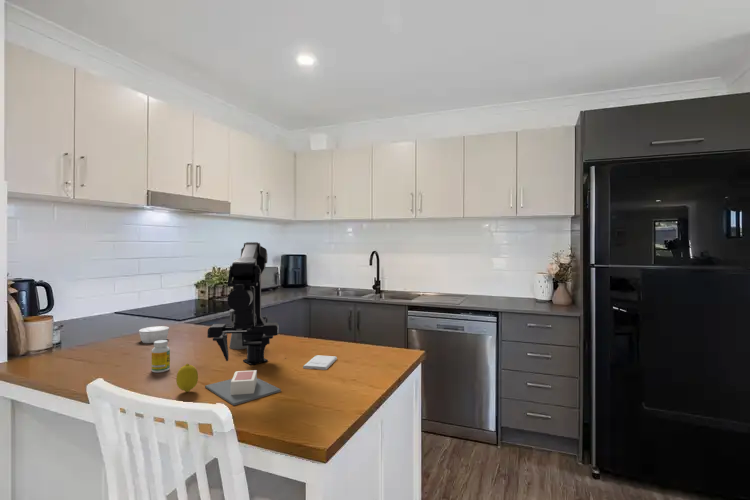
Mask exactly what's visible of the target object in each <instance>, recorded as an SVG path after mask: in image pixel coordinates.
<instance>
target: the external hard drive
mask: <svg viewBox="0 0 750 500" xmlns="http://www.w3.org/2000/svg"><path fill="white" fill-rule="evenodd" d="M337 359H338V358H337V356H335V355H333V356H332V355H318V354H317V355H314V357H312V358H311V359H309V361H308V362H306V363H305V364H304V365H303V366H302V368H303V369H309V370H313V369H314V370H322V371H323V370H324V371H326V370H328V369H329V368H330V367H331V366H332V364H334V362H336V361H337Z"/></svg>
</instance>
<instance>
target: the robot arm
mask: <svg viewBox="0 0 750 500" xmlns="http://www.w3.org/2000/svg"><path fill="white" fill-rule="evenodd" d="M267 264H268V251H267V249H266V248H265V247H263V246H262V245H261V243H260V242H257V241H256V242H254V241H246V242H244V243H243V246H242V248H241V249H240V257H239V258H237V259H234V260H233V262H232V265H229V272H228V277H227V287H233V289H232V291H231V292H230V293H229V294H228V296H227V299H226V300H227V304H228V306H229V308H230V310H231V309H233V310H234V311H232V319H231V318H230V321H231V320H232V322H234V327H232V326H227V324H226V323H213V324H212V325H211V326H209V327H208V329H207V338H208V339H212V341H213V342H216V343H217V345H218V346H219V348H220V350H221V352H222V355H223V357H224V359H225V361H226V362H228V361H229V355H230V354H229V346H228V334H232V333H242V346H247V348H246V358H244V359H243V361H242V362H244V363H246V364H248V365H251V366H253V365H258V364H262V363H266V362H268V361H269V359H267V358H265V350H266V346H267V345H270V343H271V342H270V341H271V339H273V338H274V337H275V336H278V335H279V327H280V326H279V323H278V321H277V322H275V321H274V322H266V321H265V319H264V318H263V316H262V274H263V273H264V271H265V268H266V265H267ZM237 329H241V330H237Z"/></svg>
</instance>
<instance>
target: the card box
mask: <svg viewBox="0 0 750 500" xmlns="http://www.w3.org/2000/svg"><path fill="white" fill-rule="evenodd" d="M257 376H258V370H257V369H254V370H238V371H237V370H236V371H235V372H234V374H233V377H232V378H231V379H232V380H231V395H238V394H252V393H254V390H255V387H256V383H257V378H258V377H257Z"/></svg>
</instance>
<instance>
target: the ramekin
mask: <svg viewBox="0 0 750 500" xmlns="http://www.w3.org/2000/svg"><path fill="white" fill-rule="evenodd" d="M169 331H170V327H169V326H165V325H162V326H161V325H160V326H159V325H158V326H156V325H155V326H149V327H148V326H147V327H143V328H140V329H139V330H138V333H139V337H140V341H141V343H143V344H154V342H155V341H159V340H167V339H168V335H169Z"/></svg>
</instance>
